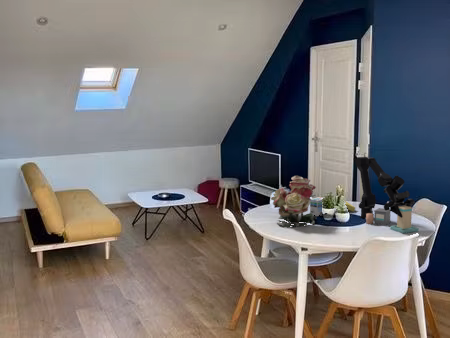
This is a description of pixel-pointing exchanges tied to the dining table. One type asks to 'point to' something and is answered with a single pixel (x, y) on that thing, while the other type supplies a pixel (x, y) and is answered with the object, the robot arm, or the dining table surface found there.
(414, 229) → the tray
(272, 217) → the dining table surface
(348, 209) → the plastic component
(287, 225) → the rose bouquet
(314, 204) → the light bulb box
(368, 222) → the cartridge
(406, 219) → the carton
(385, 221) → the grey box
